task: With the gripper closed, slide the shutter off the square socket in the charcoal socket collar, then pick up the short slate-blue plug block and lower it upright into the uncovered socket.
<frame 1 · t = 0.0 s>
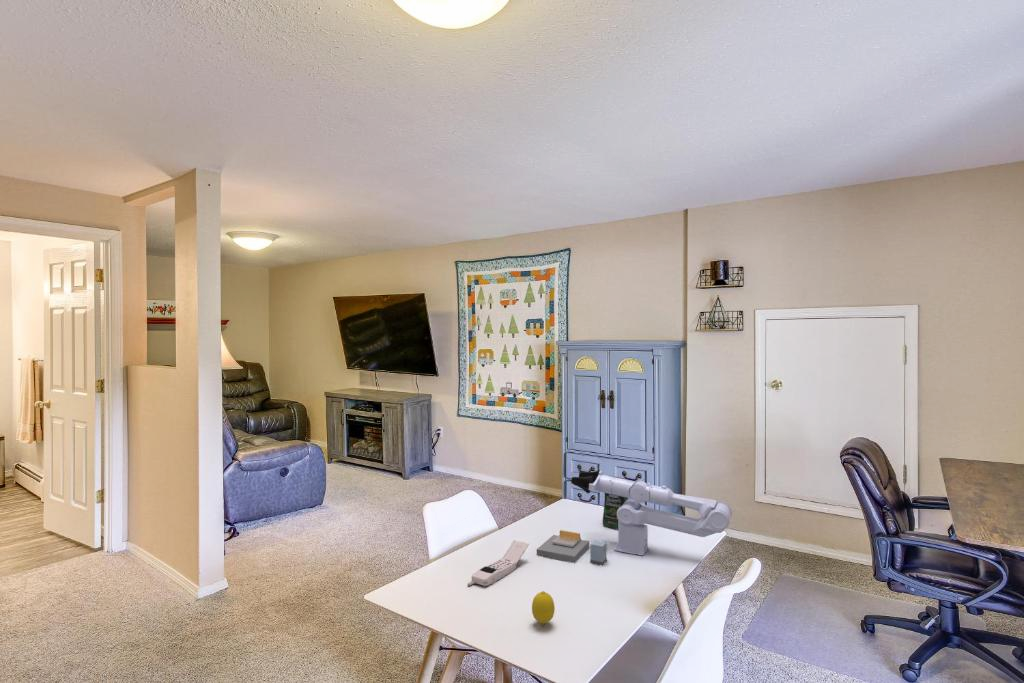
hand: (575, 477, 186), 22 cm above the table, tool horizontal, fingers open, 7 cm apart
socket front rim: (570, 544, 182), on the table
mobile phone: (499, 574, 159), on the table
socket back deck: (559, 555, 172), on the table
plug: (598, 562, 167), on the table
shutter: (566, 538, 178), point 3 cm above the table, slide at 0.0 cm
lemon: (543, 625, 130), on the table
socket far rim: (553, 545, 180), on the table
coffee jar: (615, 526, 200), on the table
socket near rim: (579, 550, 176), on the table
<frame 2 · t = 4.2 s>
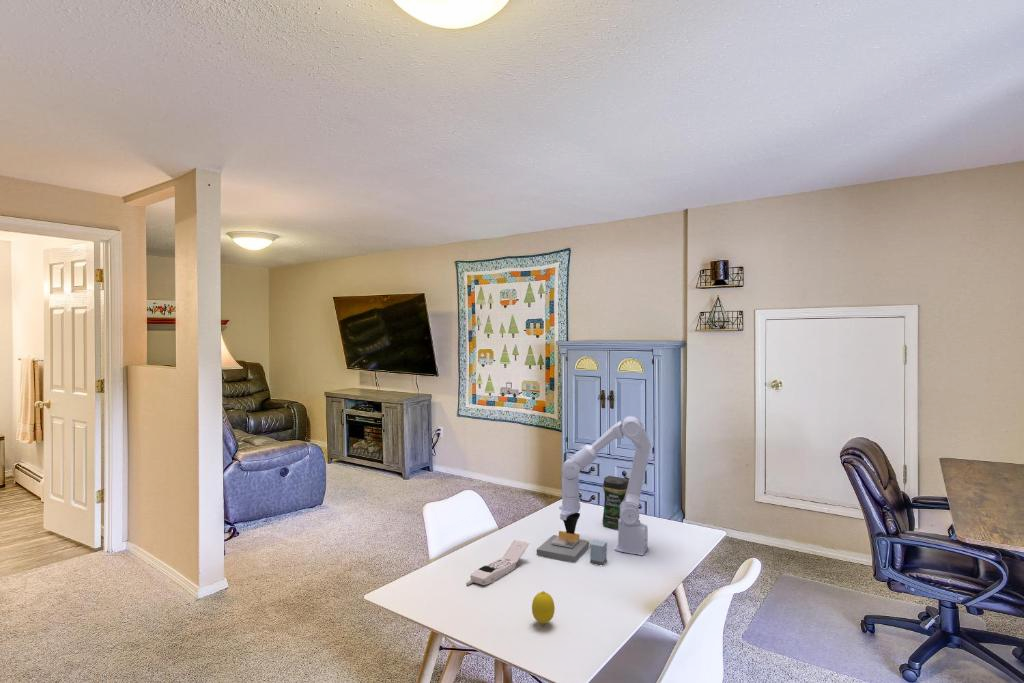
hand: (570, 534, 182), 3 cm above the table, tool pointing down, fingers closed
shutter: (565, 539, 178), point 3 cm above the table, slide at 0.7 cm, touching gripper
everything else where it was.
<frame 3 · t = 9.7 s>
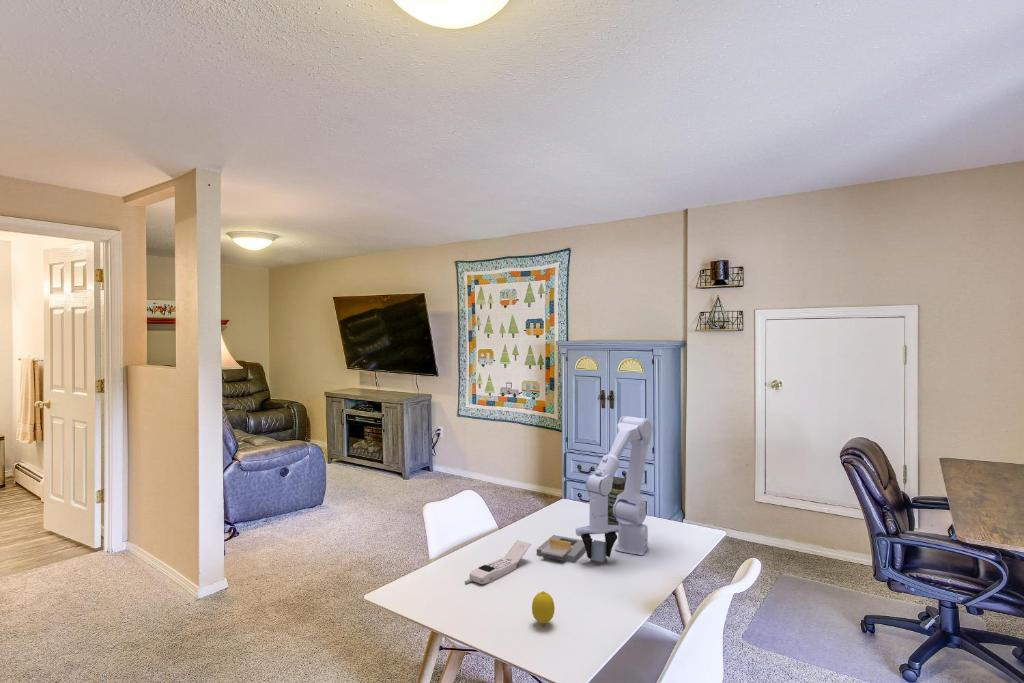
hand: (598, 556, 167), 2 cm above the table, tool pointing down, fingers closed on plug, 6 cm apart
plug: (598, 562, 167), on the table, touching gripper
shutter: (556, 547, 170), point 3 cm above the table, slide at 9.0 cm
when the fingers open (3 cm above the table, at t = 15.0 s): plug stays where it is, on the table.
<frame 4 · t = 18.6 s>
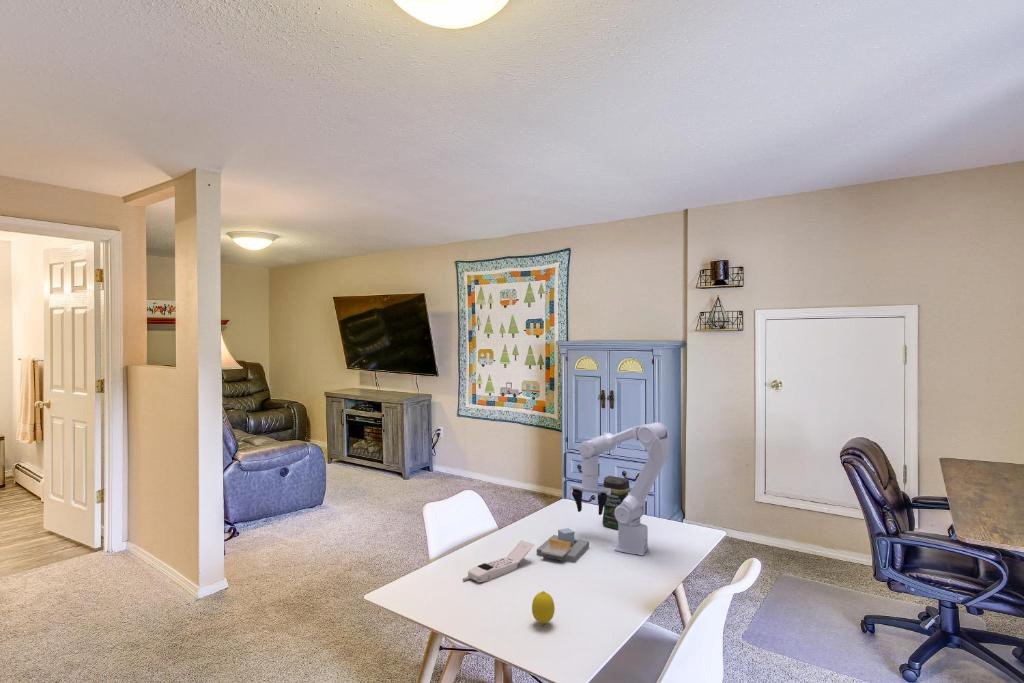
hand: (590, 512, 188), 9 cm above the table, tool pointing down, fingers open, 7 cm apart
plug: (566, 548, 178), on the table
at the end: shutter slide at 9.0 cm; plug 0.1 cm from the target spot, on the table; plug tilted 0° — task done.
